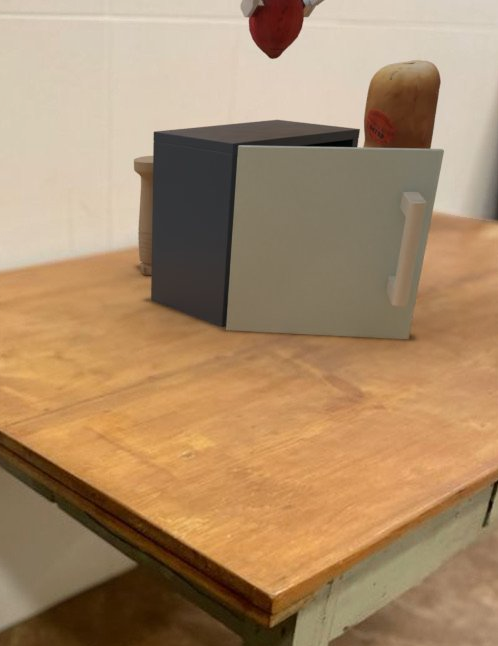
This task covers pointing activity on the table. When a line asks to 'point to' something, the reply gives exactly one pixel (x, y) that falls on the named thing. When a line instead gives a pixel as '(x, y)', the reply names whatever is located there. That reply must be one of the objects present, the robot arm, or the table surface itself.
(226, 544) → the table surface
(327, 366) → the table surface
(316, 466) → the table surface
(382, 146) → the butternut squash
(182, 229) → the cupboard
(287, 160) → the door
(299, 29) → the onion
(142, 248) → the handle
